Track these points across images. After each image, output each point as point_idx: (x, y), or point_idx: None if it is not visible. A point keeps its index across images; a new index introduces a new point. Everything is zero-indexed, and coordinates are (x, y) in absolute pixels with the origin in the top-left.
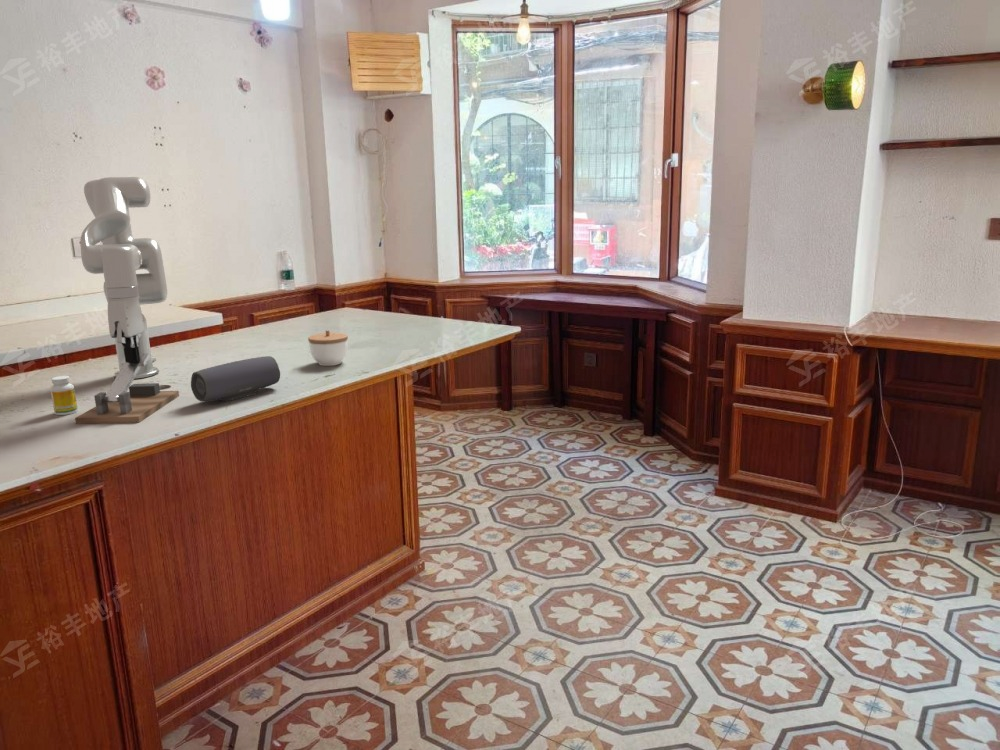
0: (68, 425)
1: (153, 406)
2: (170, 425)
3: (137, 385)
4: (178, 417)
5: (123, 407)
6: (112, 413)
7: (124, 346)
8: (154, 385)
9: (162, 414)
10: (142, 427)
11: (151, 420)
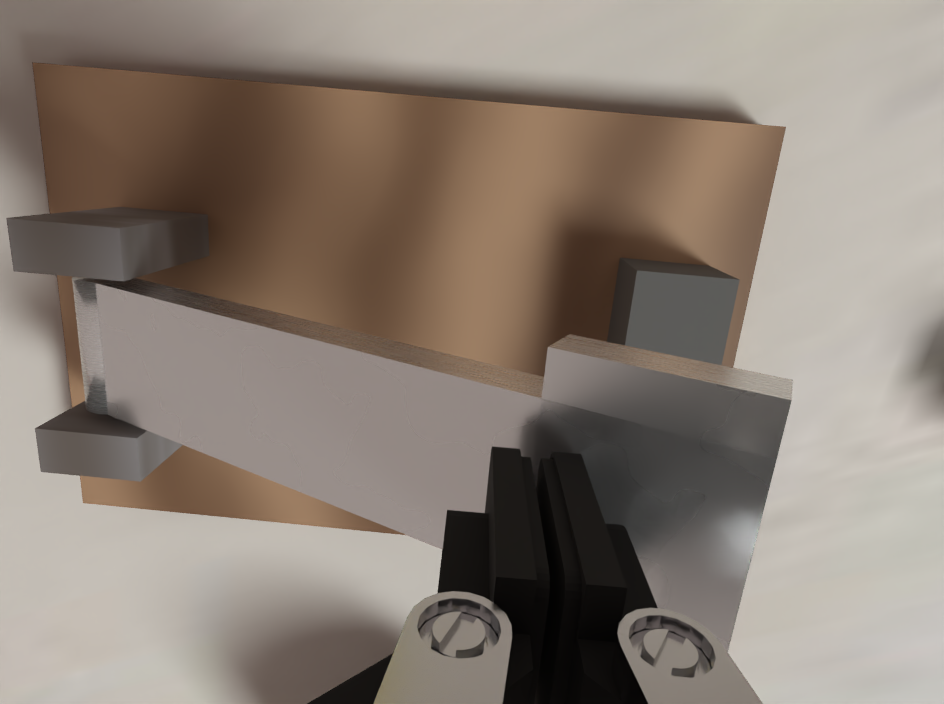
0: (26, 28)
1: (300, 519)
2: (58, 650)
3: (662, 336)
4: (197, 652)
5: None
6: None
7: (386, 668)
8: None
9: (258, 558)
10: (17, 528)
11: (143, 535)
